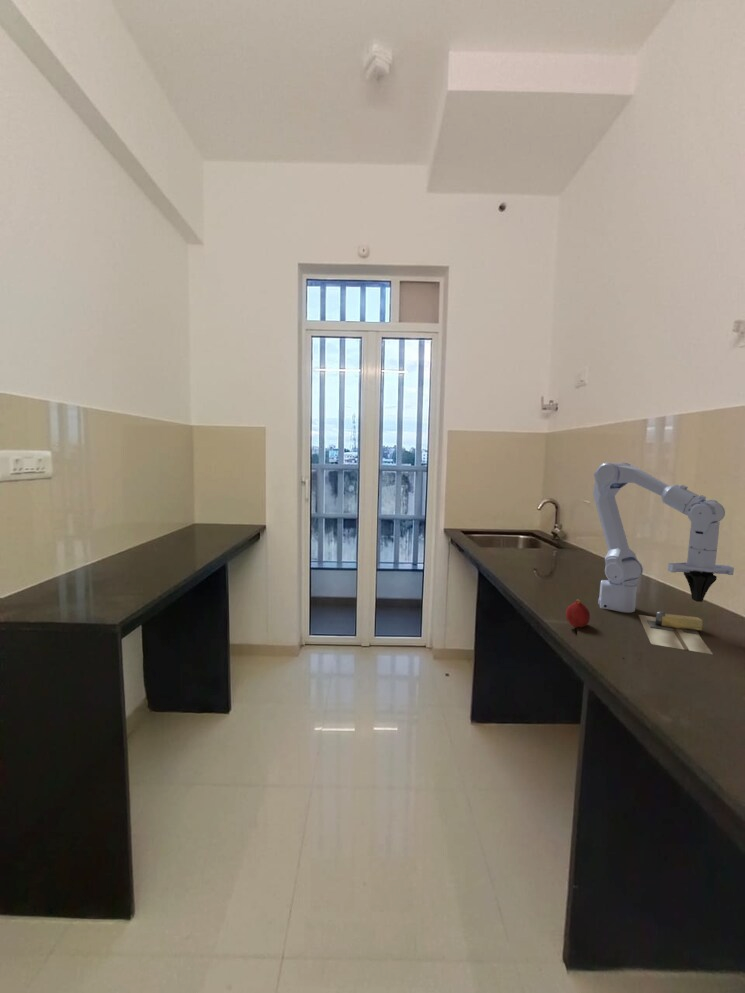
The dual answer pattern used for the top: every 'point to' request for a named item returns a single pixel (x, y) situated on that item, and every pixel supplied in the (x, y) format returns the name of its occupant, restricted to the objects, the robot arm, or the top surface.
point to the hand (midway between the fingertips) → (697, 600)
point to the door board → (673, 636)
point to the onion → (577, 614)
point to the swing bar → (678, 621)
